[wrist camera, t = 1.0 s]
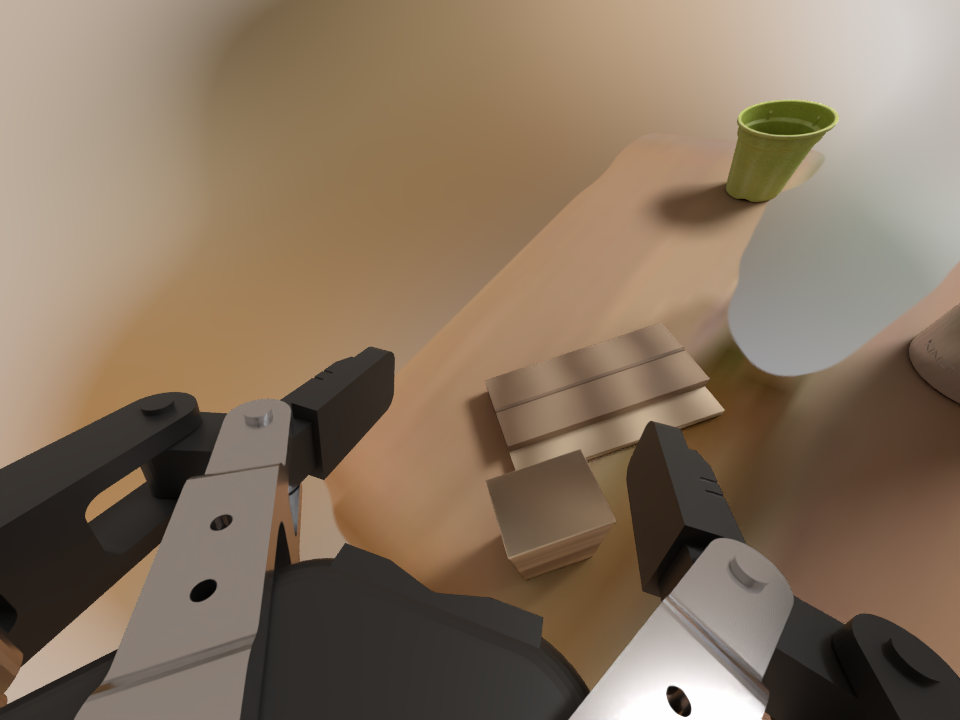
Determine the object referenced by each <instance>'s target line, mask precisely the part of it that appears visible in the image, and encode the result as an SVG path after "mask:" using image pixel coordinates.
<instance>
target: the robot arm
mask: <svg viewBox="0 0 960 720" xmlns="http://www.w3.org/2000/svg"><path fill="white" fill-rule="evenodd" d="M909 357H910V360H911V362H912V364H913V366H914V368H915V369H916V370H917V372H918V373H919V374H920V375H921V377H922V378H923V379H925V380H926V381H927V382H928V383H929V384H930V385H931V386H932V387H934V388H935V389H937V390H938V391H939V392H941V393H942V394H944V395H945V396H947V397H949V398H950V399H952V400H954V401H956V402H958V403H960V303H959V304H957V305H956V306H955V307H953V308H952V309H951V310H950V311H948V312H947V313H946V314H944V315H943V316H942V317H940V318H939V319H938V320H937V321H935V322H934V323H933V324H931V325H930V326H929V327H928V328H926V329H925V330H924V331H922V332H921V333H920V334H918V335H917V336H916V337H915V338H914V339H913V340H912V342H911V344H910V347H909ZM394 365H395V357H394V354H393V353H392V352H390V351H386V350H382V349H378V348H374V347H368V348H367V349H365V350H364V351H363V352H361V353H360V354H358V355H357V356H355V357H349V358H346V359H343V360H341V361H337V362H335V363H334V364H332V365H331V366H329V367H328V368H326V369H325V370H324V372H323V371H322V372H321V373H319V374H318V375H316V376H315V378H312V379H310V380H309V381H308V382H306V383H305V384H303V385H302V386H300V387H299V388H297V389H296V390H294V391H293V392H291V393H290V394H288V395H287V396H285V397H284V398H283V399H281V400H275V399H260V400H254V401H250V402H247V403H244V404H242V405H240V406H237V407H236V408H234V409H233V410H231V411H230V412H229V413H228V414H227V413H209V412H200V411H199V408H198V404H197V401H196V399H195V398H194V396H192V395H190V394H187V393H181V392H169V393H161V394H156V395H152V396H149V397H145V398H142V399H140V400H138V401H135V402H133V403H131V404H129V405H127V406H125V407H123V408H121V409H119V410H117V411H115V412H113V413H111V414H109V415H107V416H105V417H103V418H101V419H99V420H97V421H95V422H93V423H91V424H90V425H87V426H85V427H83V428H81V429H79V430H77V431H76V432H73V433H71V434H69V435H67V436H65V437H63V438H61V439H59V440H57V441H55V442H53V443H51V444H49V445H47V446H45V447H44V448H41V449H39V450H37V451H35V452H34V453H31V454H30V455H27V456H25V457H23V458H21V459H20V460H18V461H16V462H14V463H12V464H10V465H8V466H6V467H4V468H2V469H0V720H761V719H762V716H763V714H764V711H765V712H766V713H768V714H769V715H770V717H771V720H960V678H959V677H958V675H957V674H956V673H955V672H954V671H953V670H952V669H951V668H950V666H949V665H948V664H947V663H946V662H945V661H944V660H943V659H942V658H941V657H940V656H939V655H937V654H936V653H935V652H934V651H933V650H932V649H931V648H929V647H928V646H927V645H926V644H924V643H923V642H922V641H921V640H919V639H918V638H917V637H915V636H914V635H912V634H911V633H909V632H908V631H906V630H905V629H903V628H901V627H900V626H898V625H896V624H894V623H892V622H890V621H888V620H886V619H884V618H881V617H878V616H875V615H871V614H859V615H856V616H855V617H854V618H852V619H851V620H850V621H849V622H848V623H846V624H843V623H841V622H839V621H838V620H836V619H834V618H832V617H831V616H829V615H827V614H825V613H823V612H822V611H820V610H818V609H816V608H814V607H813V606H811V605H809V604H807V603H806V602H804V601H802V600H800V599H799V598H797V597H795V596H794V595H793V593H792V590H791V588H790V586H789V584H788V582H787V580H786V579H785V577H784V576H783V575H782V573H781V572H780V571H779V570H778V569H777V568H776V567H775V566H774V564H772V563H771V562H770V561H769V560H768V559H767V558H766V557H764V556H763V555H762V554H761V553H759V552H758V551H756V550H755V549H753V548H751V547H749V546H748V545H746V543H745V541H744V538H743V536H742V534H741V532H740V530H739V528H738V525H737V523H736V521H735V519H734V517H733V515H732V512H731V510H730V508H729V506H728V504H727V501H726V499H725V498H723V493H722V491H721V488H720V486H719V485H718V484H717V480H716V477H715V475H714V473H713V471H712V469H711V467H710V465H709V464H708V463H707V462H706V461H705V460H704V459H703V458H702V457H701V455H700V454H699V453H698V452H697V451H695V450H691V449H688V446H687V444H686V441H685V439H684V436H683V434H682V431H681V430H680V429H679V428H677V427H673V426H669V425H666V424H662V423H658V422H654V421H650V422H648V424H647V425H646V427H645V429H644V431H643V433H642V435H641V437H640V440H639V442H638V444H637V446H636V448H635V450H634V453H633V455H632V457H631V459H630V462H629V465H628V469H627V477H626V480H627V488H628V495H629V502H630V509H631V516H632V522H633V529H634V536H635V543H636V550H637V557H638V564H639V571H640V578H641V584H642V591H643V592H646V593H649V594H652V595H655V596H658V597H661V601H662V603H661V604H660V605H659V606H658V608H657V609H656V610H655V611H654V613H653V614H652V615H651V617H650V618H649V619H648V620H647V622H646V623H645V624H644V625H643V627H642V628H641V629H640V630H639V632H638V633H637V634H636V635H635V637H634V638H633V639H632V640H631V642H630V643H629V644H628V645H627V647H626V648H625V649H624V651H623V652H622V653H621V654H620V656H619V657H618V658H617V659H616V661H615V662H614V663H613V664H612V666H611V667H610V668H609V669H608V671H607V672H606V673H605V674H604V676H603V677H602V678H601V679H600V681H599V682H598V683H597V685H596V686H595V687H594V688H593V690H592V691H591V692H590V690H589V689H588V687H587V685H586V684H585V682H584V681H583V679H582V678H581V677H580V675H579V674H578V673H577V671H576V670H575V669H574V667H573V666H572V665H571V664H570V663H569V662H568V660H567V659H566V658H565V657H564V656H563V655H562V654H561V653H560V652H559V651H558V650H557V649H556V648H555V647H554V646H552V645H551V644H550V643H549V642H548V641H546V640H545V639H544V638H542V637H541V635H542V624H543V617H541V616H538V615H535V614H533V613H530V612H527V611H525V610H522V609H519V608H517V607H514V606H511V605H509V604H506V603H503V602H501V601H498V600H495V599H493V598H488V597H477V596H465V595H453V594H441V593H435V592H433V591H431V590H429V589H428V588H427V587H425V586H424V585H423V584H421V583H420V582H419V581H417V580H416V579H415V578H413V577H412V576H411V575H409V574H408V573H407V572H405V571H404V570H403V569H401V568H400V567H399V566H397V565H396V564H395V563H393V562H392V561H391V560H389V559H386V558H383V557H381V556H378V555H375V554H373V553H370V552H367V551H365V550H362V549H359V548H357V547H354V546H351V545H349V544H346V543H345V544H344V546H343V547H342V549H341V550H340V552H339V553H338V554H337V556H336V557H335V558H323V559H312V560H306V561H301V562H300V555H299V543H300V524H301V504H302V502H301V501H302V483H301V482H302V481H303V480H304V479H305V478H306V477H307V476H308V475H311V476H314V477H317V478H320V479H323V480H325V478H326V477H327V476H328V475H329V474H330V473H331V472H332V471H333V470H334V469H335V467H336V466H337V465H338V464H339V463H340V462H341V461H342V460H343V459H344V457H345V456H346V455H347V454H348V453H349V452H350V451H351V450H352V449H353V447H354V446H355V445H356V444H357V443H358V442H359V441H360V440H361V439H362V438H363V436H364V435H365V434H366V433H367V432H368V431H369V430H370V429H371V428H372V426H373V425H374V424H375V423H376V422H377V421H378V420H379V419H380V418H381V416H382V415H383V414H384V413H385V412H386V411H387V410H388V408H389V406H390V404H391V402H392V399H393V395H394ZM139 467H141V469H142V471H143V474H144V476H145V478H146V481H147V482H145V483H144V484H142V485H141V486H140V487H138V488H137V489H135V490H134V491H132V492H131V493H130V494H128V495H127V496H125V497H124V498H123V499H121V500H120V501H118V502H117V503H116V504H114V505H113V506H111V507H110V508H108V509H107V510H106V511H104V512H103V513H102V514H100V515H99V516H97V517H96V518H94V519H93V520H92V521H90V522H89V523H87V521H86V519H85V512H86V509H87V507H88V505H89V504H90V502H91V501H92V500H93V499H94V498H95V497H96V496H97V495H98V494H99V493H101V492H102V491H104V490H105V489H107V488H108V487H110V486H111V485H113V484H114V483H116V482H117V481H119V480H120V479H122V478H123V477H125V476H126V475H128V474H130V473H131V472H132V471H134V470H135V469H137V468H139ZM160 543H161V544H160ZM159 544H160V546H159V549H158V551H157V554H156V556H155V559H154V561H153V564H152V566H151V569H150V571H149V574H148V576H147V579H146V581H145V584H144V586H143V589H142V591H141V594H140V596H139V598H138V601H137V603H136V606H135V608H134V611H133V613H132V616H131V618H130V621H129V623H128V626H127V628H126V631H125V633H124V636H123V638H122V641H121V643H120V646H119V648H118V649H117V650H115V651H113V652H111V653H109V654H107V655H105V656H103V657H101V658H99V659H97V660H95V661H93V662H91V663H89V664H87V665H85V666H83V667H81V668H79V669H77V670H75V671H73V672H71V673H69V674H67V675H65V676H63V677H61V678H59V679H57V680H55V681H53V682H51V683H49V684H47V685H45V686H43V687H41V688H39V689H37V690H35V691H33V692H31V693H29V694H27V695H25V696H23V697H21V698H19V699H17V700H15V701H13V702H11V703H9V704H7V696H6V695H5V694H4V692H5V691H6V690H7V689H8V687H9V686H10V685H11V683H12V682H13V680H14V679H15V677H16V675H17V673H18V671H19V669H20V667H22V666H23V665H24V664H25V663H26V662H27V661H28V660H30V659H31V658H32V657H33V656H34V655H35V654H36V653H37V652H38V651H40V650H41V649H42V648H43V647H44V646H45V645H46V644H47V643H49V642H50V641H51V640H52V639H53V638H54V637H55V636H57V635H58V633H60V632H61V631H62V630H63V629H64V628H65V627H66V626H68V625H69V624H70V623H71V622H72V621H73V620H75V619H76V618H77V617H78V616H79V615H80V614H81V613H82V612H83V611H85V610H86V609H87V608H88V607H89V606H90V605H91V604H92V603H94V601H96V600H97V599H98V598H99V597H100V596H102V595H103V594H104V593H105V592H106V591H107V590H108V589H109V588H110V587H112V586H113V585H114V584H115V583H116V582H117V581H118V580H120V579H121V578H122V577H123V576H124V575H125V574H126V573H127V572H128V571H130V570H131V569H132V568H133V567H134V566H135V565H136V564H138V562H140V561H141V560H142V559H143V558H144V557H145V556H147V555H148V554H149V553H150V552H151V551H152V550H153V549H154V548H155V547H157V546H158V545H159Z"/></svg>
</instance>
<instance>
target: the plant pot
mask: <svg viewBox="0 0 960 720" xmlns="http://www.w3.org/2000/svg"><path fill="white" fill-rule="evenodd" d="M838 120H839V115H838V114H837V112H836V111H835V110H833V109H832V108H830V107H828V106H826V105H823V104H820V103H816V102H810V101H803V100H777V101H768V102H763V103H759V104H756V105H753V106H750V107H748V108H746V109H745V110H743V111H742V112H741V113H740V114H739V116H738V119H737V123H738V126H739V128H738V141H737V145H736V149H735V153H734V157H733V161H732V165H731V169H730V172H729V176H728V180H727V184H726V191H727V193H728V194H729V195H731V196H732V197H734V198H736V199H741V198H742V199H747V200H749V201H750V202H761V201H767V200H770V199H773V198H774V197H776V196H777V195H778V194H779V193H780V192H781V190H782V189H783V188H784V186H785V185H786V183H787V182H788V180H789V179H790V178H791V176H792V175H793V173H794V172H795V171H796V169H797V168H798V166H799V165H800V164H801V162H802V161H803V160H804V158H805V157H806V156H807V154H808V153H809V151H810V150H811V148H812V147H813V146H814V145H815V144H816V143H817V142H818V141H819V140H820V139H821V138H822V137H823V136H824V134H825V133H826V132H827V131H829V130H831V129H832V128H833V127H834V126H835V125H836V124H837V122H838Z"/></svg>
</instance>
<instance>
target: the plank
mask: <svg viewBox="0 0 960 720" xmlns="http://www.w3.org/2000/svg"><path fill="white" fill-rule="evenodd" d="M486 483H487V487H488V490H489V494H490V497H491V501H492V504H493V508H494V511H495V515H496V518H497V522H498V525H499V529H500V532H501V536H502V539H503V543H504V546H505V550H506V553H507V557H508V559H509V560H511V562H512V563H513V564H514V566H515V567H516V568H517V570H518V571H519V572H520V574H521V575H522V576H523V578H524V579H525V580H528V579H530V578H533V577H536V576H539V575H542V574H545V573H548V572H551V571H553V570H556V569H559V568H562V567H565V566H568V565H571V564H574V563H576V562H579V561H582V560H585V559H588V558H591V557H592V555H593V554H594V552H595V551H596V549H597V548H598V546H599V545H600V543H601V542H602V540H603V539H604V537H605V536H606V534H607V533H608V531H609V530H610V528H611V527H612V525H613V524H615V522H616V519H615V517H614V515H613V513H612V511H611V509H610V507H609V505H608V503H607V501H606V499H605V497H604V495H603V493H602V491H601V489H600V487H599V484H598V482H597V480H596V478H595V476H594V474H593V472H592V470H591V468H590V466H589V464H588V462H587V460H586V458H585V456H584V454H583V452H582V450H581V448H580V449H577V450H574V451H572V452H569V453H566V454H563V455H560V456H557V457H554V458H551V459H548V460H545V461H542V462H539V463H536V464H533V465H530V466H527V467H524V468H521V469H518V470H515V471H512V472H509V473H506V474H503V475H501V476H498V477H495V478H492V479H489V480H486Z"/></svg>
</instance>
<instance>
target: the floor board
mask: <svg viewBox="0 0 960 720" xmlns="http://www.w3.org/2000/svg"><path fill="white" fill-rule="evenodd" d="M708 381H709V377H708V376H707V375H706V374H705V373H704V372H703V370H702V369H701V368H700V367H699V366H698V365H697V363H696V362H695V361H694V360H693V359H692V358H691V356H690V355H689V354H688V353H687V352H686V351H685V348H684V347H682V346H681V345H680V344H679V342H678V341H677V340H676V339H675V338H674V337H673V335H672V334H671V333H670V332H669V331H668V330H667V328H666V327H665V326H664V325H663V324H662V323H658V324H655V325H652V326H649V327H646V328H643V329H640V330H637V331H634V332H631V333H628V334H625V335H622V336H619V337H616V338H613V339H610V340H607V341H603V342H600V343H597V344H594V345H591V346H588V347H585V348H582V349H579V350H576V351H573V352H570V353H567V354H564V355H561V356H558V357H555V358H552V359H549V360H546V361H543V362H540V363H536V364H533V365H530V366H527V367H524V368H521V369H518V370H515V371H512V372H509V373H506V374H503V375H500V376H497V377H494V378H491V379H488V380H485V383H486V386H487V390H488V393H489V396H490V399H491V402H492V405H493V407H494V410H495V413H496V416H497V419H498V422H499V425H500V428H501V431H502V433H503V436H504V439H505V442H506V445H507V448H508V451H509V454H510V457H511V459H512V462H513V465H514V468H515V470H518V469H521V468H524V467H527V466H530V465H533V464H536V463H539V462H542V461H545V460H548V459H551V458H554V457H557V456H560V455H563V454H566V453H569V452H572V451H574V450H577V449H580V448H581V450H582V452H583V454H584V456H585V458H586V460H589V459H592V458H595V457H598V456H601V455H604V454H607V453H610V452H613V451H616V450H619V449H622V448H625V447H628V446H631V445H634V444H637V443H638V442H639V440H640V437H641V435H642V433H643V431H644V429H645V427H646V425H647V424H648V422H650V421H654V422H658V423H662V424H666V425H669V426H673V427H677V428H679V429H681V428H684V427H687V426H690V425H693V424H695V423H698V422H701V421H704V420H707V419H710V418H713V417H716V416H719V415H721V414H722V413H723V412H724V411H725V410H724V409H723V408H722V406H721V405H720V404H719V403H718V402H717V400H716V399H715V398H714V397H713V396H712V394H711V393H710V392H709V391H708V390H707V388H706V387H705V385H706V384H707V382H708Z"/></svg>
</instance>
